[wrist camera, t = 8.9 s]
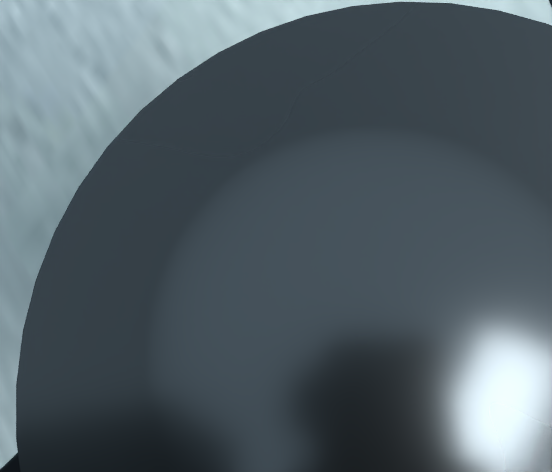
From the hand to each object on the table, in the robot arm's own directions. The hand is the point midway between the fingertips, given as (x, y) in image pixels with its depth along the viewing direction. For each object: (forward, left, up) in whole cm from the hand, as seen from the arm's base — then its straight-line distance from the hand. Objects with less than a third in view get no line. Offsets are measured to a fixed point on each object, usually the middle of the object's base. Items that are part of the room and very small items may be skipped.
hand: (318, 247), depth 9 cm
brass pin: (-1, -1, -7) cm, 7 cm away
